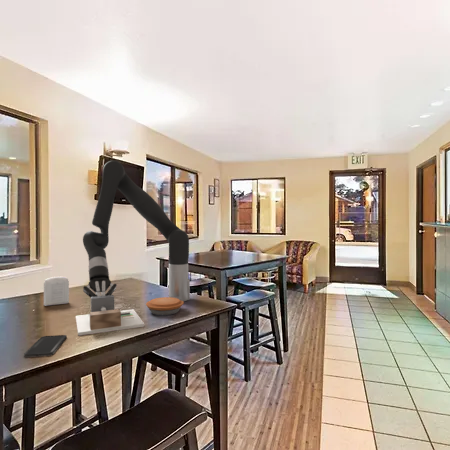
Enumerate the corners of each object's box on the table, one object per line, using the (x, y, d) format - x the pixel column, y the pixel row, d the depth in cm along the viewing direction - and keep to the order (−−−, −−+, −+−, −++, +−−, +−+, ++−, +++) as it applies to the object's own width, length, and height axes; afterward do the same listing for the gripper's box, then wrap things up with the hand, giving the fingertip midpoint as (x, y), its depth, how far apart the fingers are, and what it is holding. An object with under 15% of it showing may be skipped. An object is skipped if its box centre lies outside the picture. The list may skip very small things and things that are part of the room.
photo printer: (68, 301, 159) (67, 274, 158) (69, 303, 155) (69, 276, 155) (43, 304, 153) (42, 277, 153) (44, 306, 149) (43, 278, 149)
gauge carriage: (129, 313, 134) (129, 293, 134) (132, 318, 128) (132, 297, 127) (91, 318, 128) (90, 296, 128) (92, 323, 122) (92, 301, 121)
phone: (67, 334, 112) (52, 352, 98) (67, 338, 112) (52, 356, 98) (41, 336, 111) (22, 354, 96) (41, 339, 111) (22, 358, 96)
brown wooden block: (119, 322, 124) (119, 309, 124) (120, 325, 121) (120, 311, 120) (89, 326, 120) (89, 312, 120) (90, 330, 116) (90, 315, 116)
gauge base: (133, 311, 142) (133, 308, 142) (144, 326, 123) (144, 322, 123) (75, 318, 133) (75, 314, 133) (78, 335, 114) (77, 331, 114)
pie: (167, 319, 132) (167, 306, 132) (137, 313, 140) (137, 301, 140) (190, 309, 146) (190, 298, 146) (162, 304, 153) (162, 293, 153)
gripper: (81, 265, 135) (83, 303, 125) (116, 263, 141) (120, 300, 130) (80, 276, 140) (82, 314, 130) (114, 274, 146) (118, 310, 135)
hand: (101, 307), depth 130 cm, fingers closed
